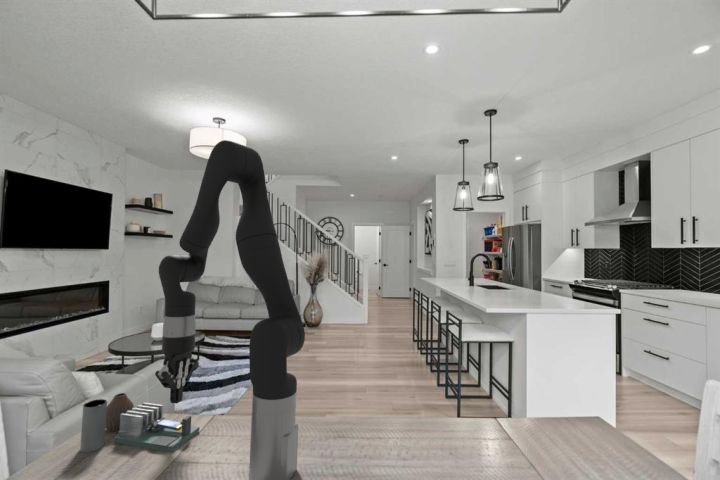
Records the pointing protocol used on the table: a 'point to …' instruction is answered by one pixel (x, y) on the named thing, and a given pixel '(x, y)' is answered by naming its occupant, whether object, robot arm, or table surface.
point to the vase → (117, 411)
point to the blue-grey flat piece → (167, 424)
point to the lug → (186, 425)
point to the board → (159, 439)
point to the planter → (93, 425)
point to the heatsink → (140, 420)
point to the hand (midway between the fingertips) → (176, 402)
